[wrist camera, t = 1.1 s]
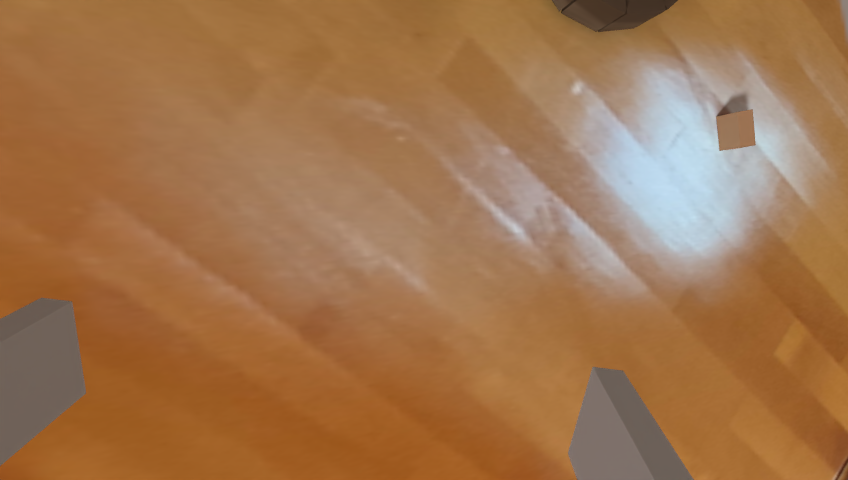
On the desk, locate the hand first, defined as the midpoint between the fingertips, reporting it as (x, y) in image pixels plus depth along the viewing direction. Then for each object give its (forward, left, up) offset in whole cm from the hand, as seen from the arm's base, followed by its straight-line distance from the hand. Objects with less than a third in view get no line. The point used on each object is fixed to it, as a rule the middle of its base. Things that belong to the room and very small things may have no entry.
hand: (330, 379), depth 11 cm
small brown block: (-2, +37, -21) cm, 43 cm away
